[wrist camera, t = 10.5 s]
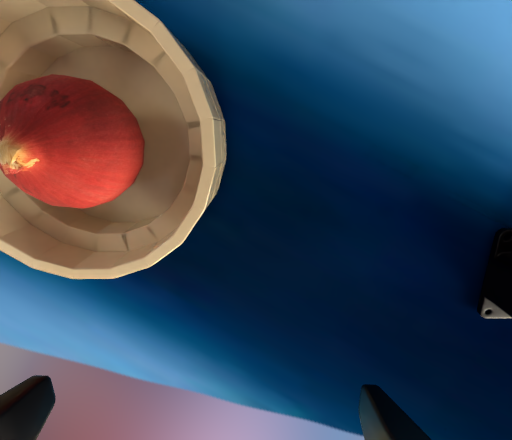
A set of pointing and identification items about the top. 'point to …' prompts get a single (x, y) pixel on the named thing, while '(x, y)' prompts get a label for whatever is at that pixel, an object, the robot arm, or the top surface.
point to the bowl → (150, 122)
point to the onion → (69, 141)
